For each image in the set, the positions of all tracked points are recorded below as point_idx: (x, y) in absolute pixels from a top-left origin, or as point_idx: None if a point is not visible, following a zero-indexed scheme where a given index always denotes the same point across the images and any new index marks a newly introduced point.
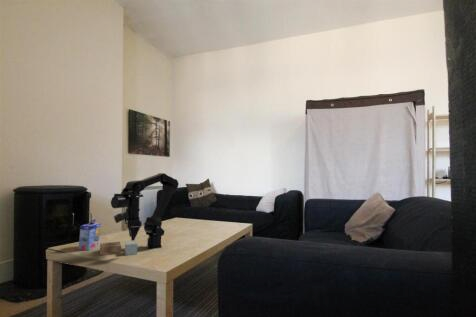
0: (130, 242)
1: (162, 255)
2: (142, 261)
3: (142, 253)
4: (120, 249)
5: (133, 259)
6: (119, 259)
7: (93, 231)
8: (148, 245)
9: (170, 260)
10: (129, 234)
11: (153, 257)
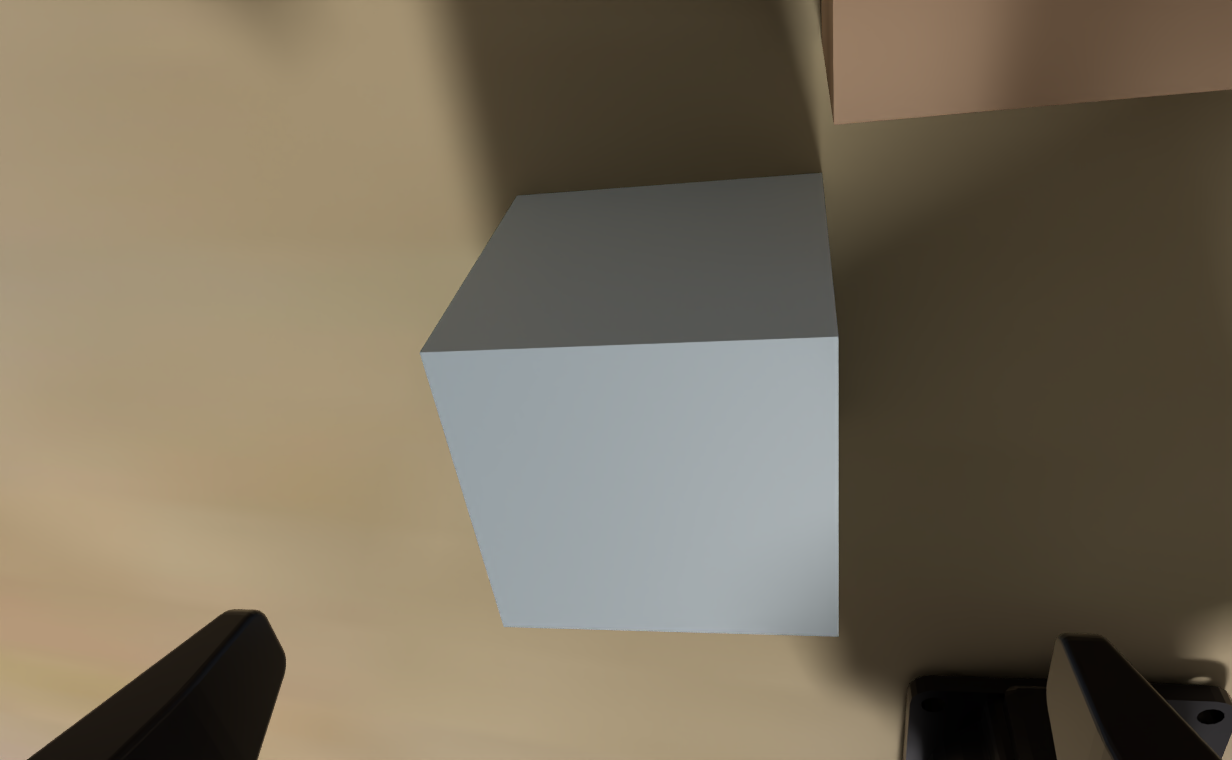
0: (757, 488)
1: (365, 734)
2: (35, 467)
3: None
4: (826, 66)
5: (153, 342)
6: (154, 39)
7: None
8: (1010, 721)
9: None
10: (1100, 711)
11: None
